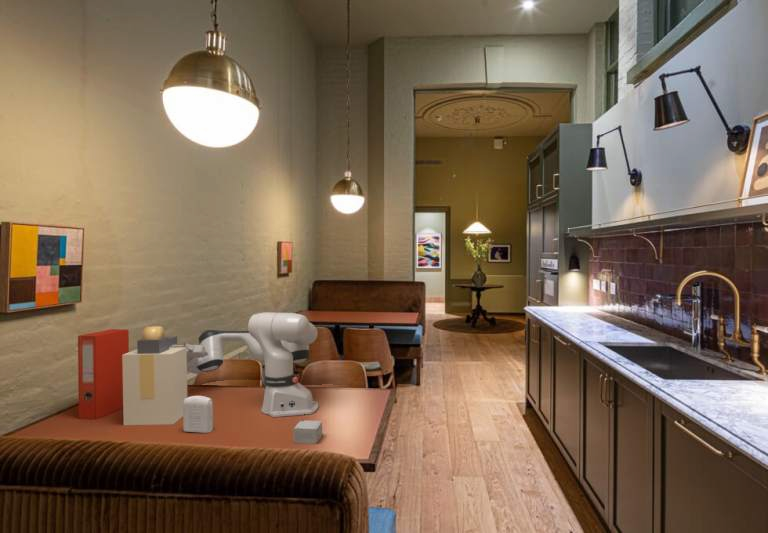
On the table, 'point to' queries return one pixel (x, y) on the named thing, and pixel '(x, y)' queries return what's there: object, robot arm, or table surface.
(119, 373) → the file binder
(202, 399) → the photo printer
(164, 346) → the gold knob on base
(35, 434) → the table surface
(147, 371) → the carton
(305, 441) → the small box
